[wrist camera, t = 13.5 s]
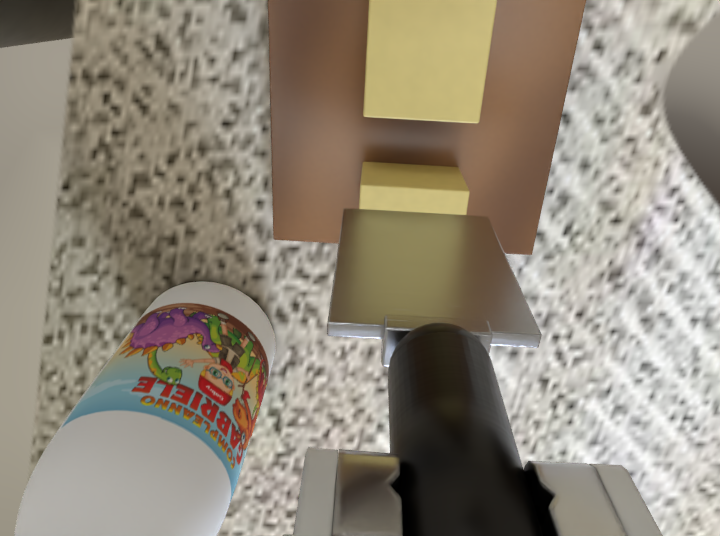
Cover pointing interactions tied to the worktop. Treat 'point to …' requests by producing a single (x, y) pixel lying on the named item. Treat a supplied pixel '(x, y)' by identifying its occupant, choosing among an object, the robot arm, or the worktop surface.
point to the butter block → (427, 59)
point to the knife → (440, 362)
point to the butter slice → (413, 188)
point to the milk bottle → (159, 424)
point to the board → (413, 137)
